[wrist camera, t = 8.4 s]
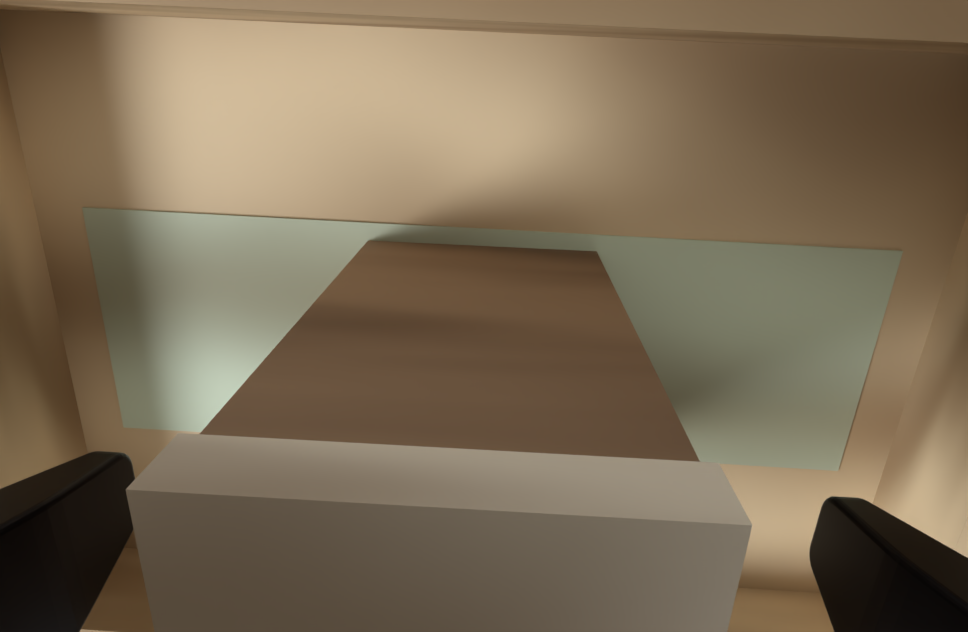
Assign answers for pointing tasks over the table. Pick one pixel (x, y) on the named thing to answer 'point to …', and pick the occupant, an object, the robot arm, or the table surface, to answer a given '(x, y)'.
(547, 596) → the brown wooden block
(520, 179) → the wooden tray
